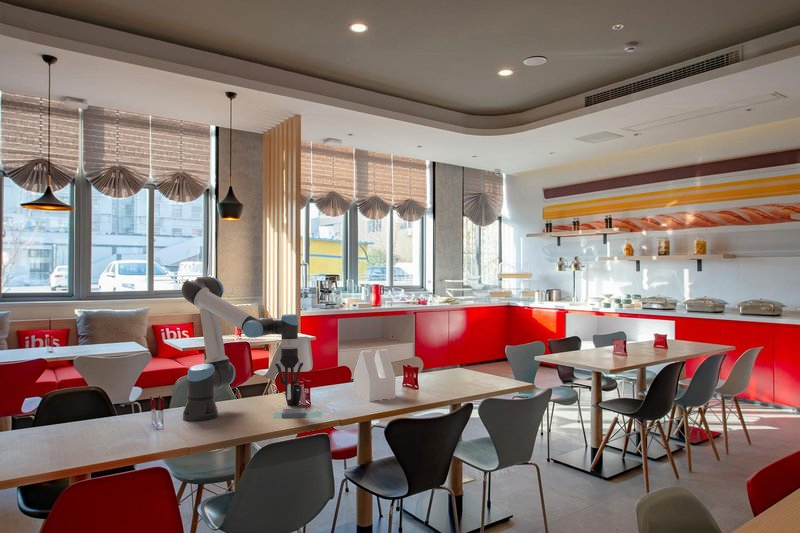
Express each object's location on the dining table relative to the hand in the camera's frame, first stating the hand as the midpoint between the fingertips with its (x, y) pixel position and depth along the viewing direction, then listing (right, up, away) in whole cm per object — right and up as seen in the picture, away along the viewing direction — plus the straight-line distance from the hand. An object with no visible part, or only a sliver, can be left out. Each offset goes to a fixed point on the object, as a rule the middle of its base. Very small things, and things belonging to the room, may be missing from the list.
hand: (289, 398), depth 254 cm
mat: (+4, -8, 0) cm, 9 cm away
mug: (-1, -9, +20) cm, 22 cm away
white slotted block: (+37, -9, +42) cm, 57 cm away
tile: (-3, -6, 0) cm, 7 cm away
